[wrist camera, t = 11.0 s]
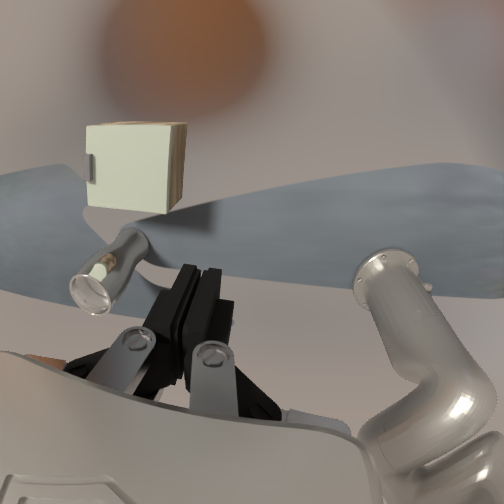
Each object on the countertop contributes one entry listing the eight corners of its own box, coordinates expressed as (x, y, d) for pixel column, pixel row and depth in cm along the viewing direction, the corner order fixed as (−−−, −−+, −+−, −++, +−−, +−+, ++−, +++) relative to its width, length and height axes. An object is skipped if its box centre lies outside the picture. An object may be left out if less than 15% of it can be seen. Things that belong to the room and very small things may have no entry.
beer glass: (109, 230, 44) (60, 277, 30) (142, 220, 42) (96, 268, 29) (125, 265, 47) (84, 319, 33) (157, 258, 46) (121, 315, 32)
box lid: (173, 125, 30) (168, 126, 28) (168, 211, 35) (164, 216, 33) (90, 125, 30) (83, 126, 28) (91, 203, 35) (85, 207, 33)
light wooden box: (187, 123, 35) (174, 125, 30) (181, 197, 40) (169, 211, 35) (112, 122, 35) (91, 125, 30) (111, 190, 40) (92, 202, 35)
